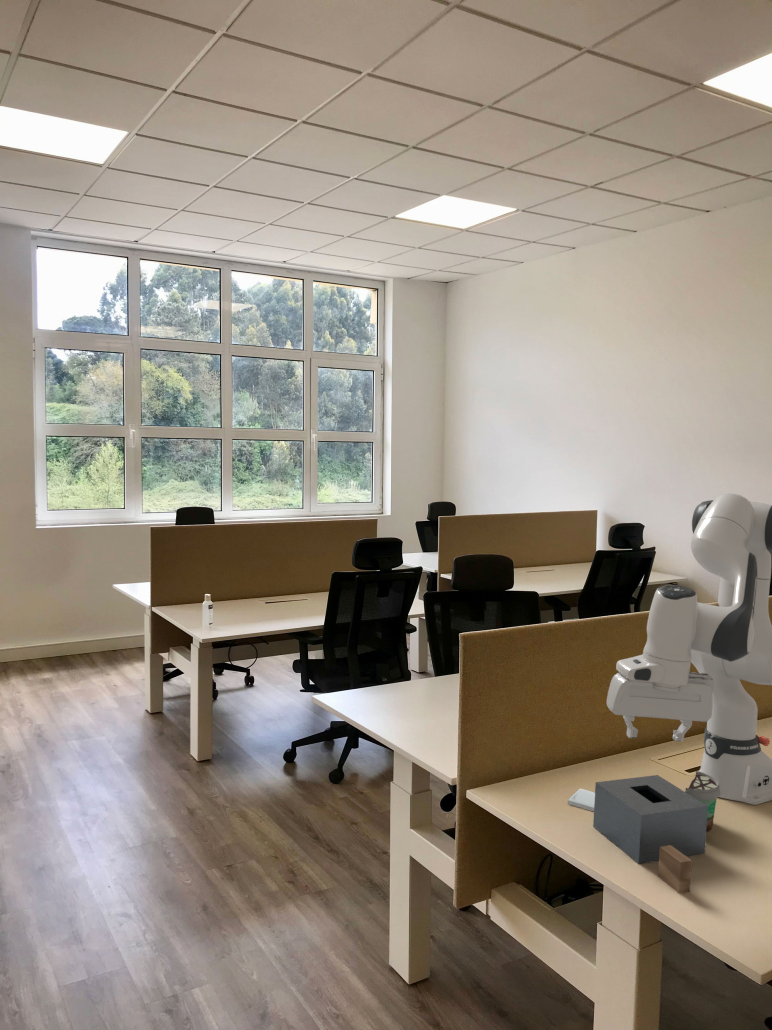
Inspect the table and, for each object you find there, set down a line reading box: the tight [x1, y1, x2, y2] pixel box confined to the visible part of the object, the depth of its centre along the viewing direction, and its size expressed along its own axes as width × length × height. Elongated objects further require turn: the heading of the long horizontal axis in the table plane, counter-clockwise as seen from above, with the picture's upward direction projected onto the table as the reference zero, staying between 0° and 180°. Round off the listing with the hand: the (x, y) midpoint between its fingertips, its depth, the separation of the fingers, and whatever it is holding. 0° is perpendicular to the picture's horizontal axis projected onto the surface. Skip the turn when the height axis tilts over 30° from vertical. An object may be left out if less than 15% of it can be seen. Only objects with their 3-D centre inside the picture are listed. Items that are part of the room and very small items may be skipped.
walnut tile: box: [657, 845, 693, 894], centre depth 149 cm, size 2×6×6 cm, turn 18°
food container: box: [684, 770, 721, 833], centre depth 173 cm, size 12×6×10 cm, turn 148°
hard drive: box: [567, 788, 595, 812], centre depth 183 cm, size 2×8×12 cm
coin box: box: [592, 774, 708, 865], centre depth 166 cm, size 16×16×10 cm
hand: (654, 738), depth 153 cm, fingers open, 8 cm apart
